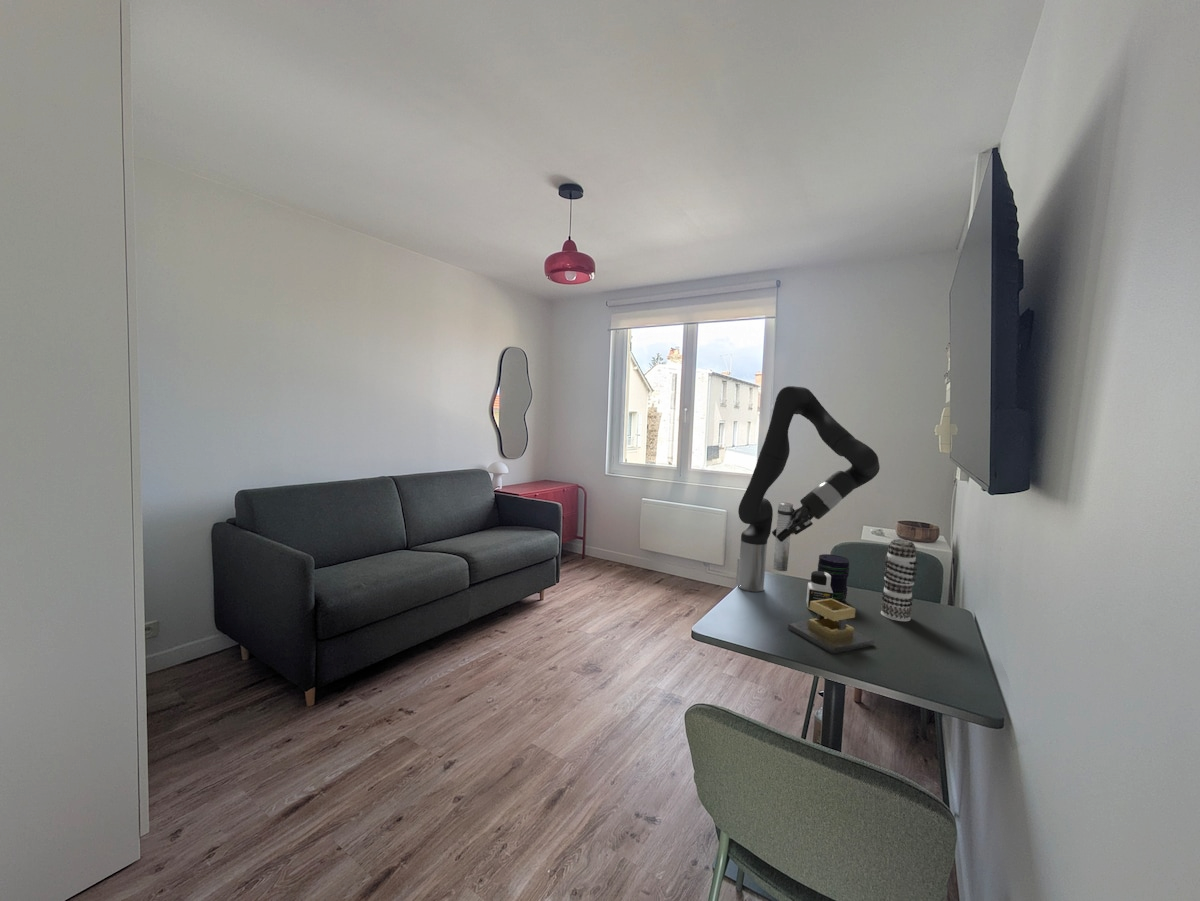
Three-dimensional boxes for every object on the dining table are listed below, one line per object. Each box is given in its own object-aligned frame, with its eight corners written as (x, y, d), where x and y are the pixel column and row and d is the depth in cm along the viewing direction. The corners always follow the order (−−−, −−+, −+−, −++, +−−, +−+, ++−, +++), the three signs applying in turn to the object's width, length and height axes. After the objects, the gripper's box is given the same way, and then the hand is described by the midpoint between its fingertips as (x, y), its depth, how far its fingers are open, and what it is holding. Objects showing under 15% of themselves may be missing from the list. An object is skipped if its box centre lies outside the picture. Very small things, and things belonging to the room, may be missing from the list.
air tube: (769, 567, 150) (775, 502, 148) (780, 566, 152) (786, 502, 150) (779, 571, 146) (785, 505, 145) (790, 570, 148) (796, 505, 146)
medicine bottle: (807, 609, 163) (810, 574, 162) (806, 602, 170) (809, 568, 169) (831, 613, 161) (834, 577, 160) (828, 605, 167) (831, 571, 167)
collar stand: (788, 628, 147) (790, 597, 146) (827, 622, 153) (830, 592, 153) (832, 653, 132) (835, 619, 132) (873, 645, 139) (877, 612, 138)
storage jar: (847, 599, 174) (851, 558, 173) (844, 607, 166) (848, 564, 165) (817, 592, 180) (820, 552, 179) (812, 600, 171) (816, 558, 170)
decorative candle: (902, 611, 165) (910, 538, 164) (917, 623, 156) (925, 545, 154) (874, 609, 166) (881, 536, 164) (887, 620, 157) (895, 543, 155)
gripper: (804, 487, 154) (761, 522, 155) (822, 494, 139) (774, 534, 141) (820, 505, 154) (777, 540, 155) (839, 514, 140) (792, 553, 141)
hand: (776, 537), depth 148 cm, fingers closed on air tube, 4 cm apart
